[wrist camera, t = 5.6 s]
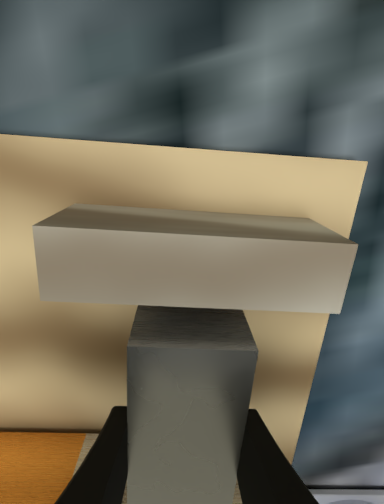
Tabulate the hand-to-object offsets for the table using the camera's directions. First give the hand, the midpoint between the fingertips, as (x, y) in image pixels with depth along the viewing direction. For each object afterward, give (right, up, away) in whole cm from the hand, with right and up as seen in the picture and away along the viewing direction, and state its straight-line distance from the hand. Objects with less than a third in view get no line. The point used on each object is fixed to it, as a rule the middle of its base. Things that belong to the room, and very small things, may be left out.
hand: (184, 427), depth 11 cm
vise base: (-5, +2, +5) cm, 7 cm away
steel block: (0, +2, +4) cm, 4 cm away
